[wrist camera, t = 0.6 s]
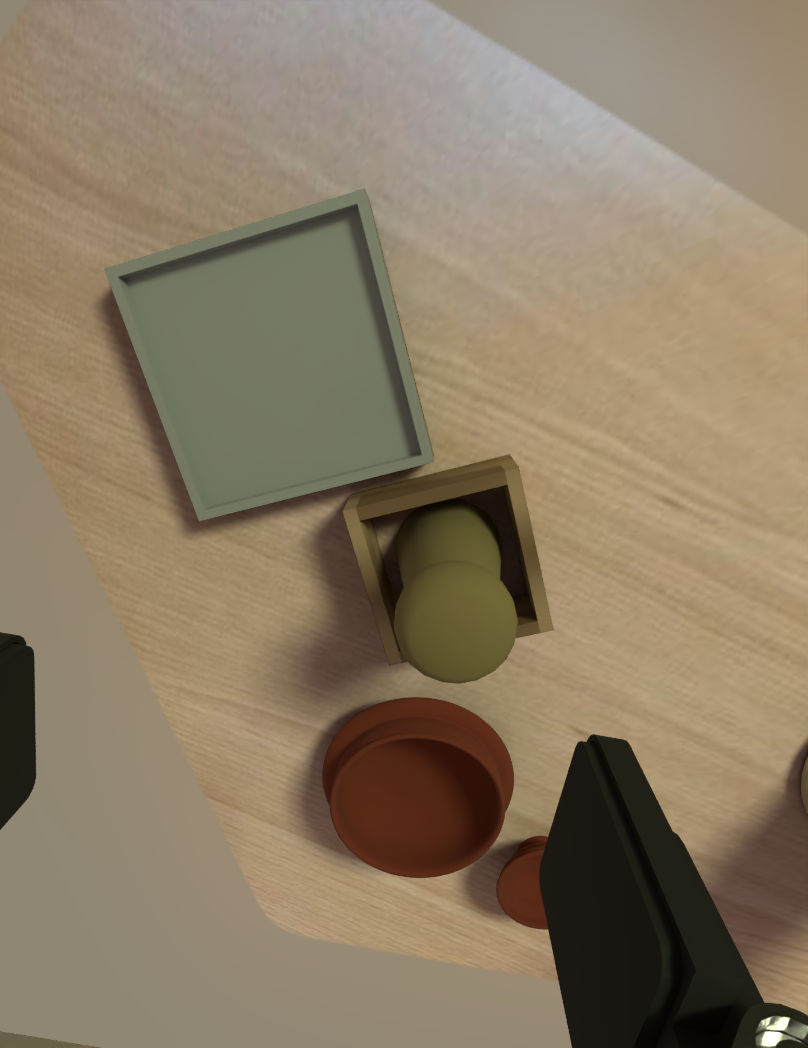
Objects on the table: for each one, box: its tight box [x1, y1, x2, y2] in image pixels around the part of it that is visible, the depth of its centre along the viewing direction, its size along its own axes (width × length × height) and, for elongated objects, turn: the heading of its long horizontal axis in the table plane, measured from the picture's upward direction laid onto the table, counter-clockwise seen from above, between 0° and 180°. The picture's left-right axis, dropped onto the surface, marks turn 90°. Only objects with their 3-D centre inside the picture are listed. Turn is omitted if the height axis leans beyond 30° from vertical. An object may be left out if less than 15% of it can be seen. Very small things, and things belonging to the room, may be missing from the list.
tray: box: [104, 189, 434, 521], centre depth 31 cm, size 13×13×2 cm
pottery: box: [323, 697, 548, 929], centre depth 37 cm, size 12×20×4 cm, turn 49°
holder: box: [343, 455, 553, 665], centre depth 33 cm, size 9×9×4 cm
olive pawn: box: [394, 499, 518, 683], centre depth 29 cm, size 6×6×11 cm
